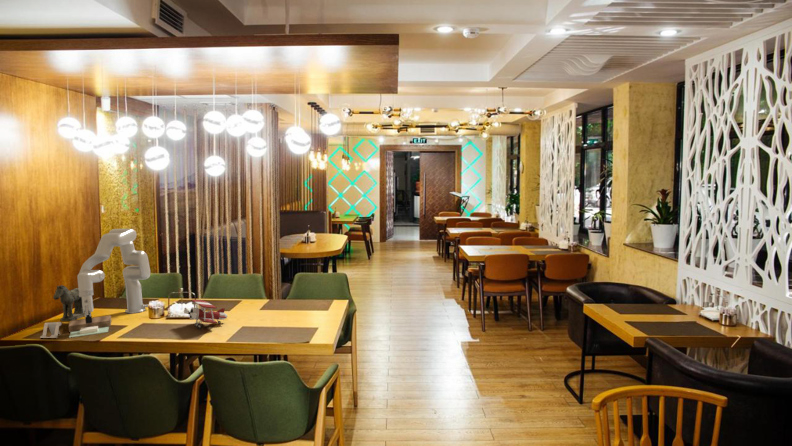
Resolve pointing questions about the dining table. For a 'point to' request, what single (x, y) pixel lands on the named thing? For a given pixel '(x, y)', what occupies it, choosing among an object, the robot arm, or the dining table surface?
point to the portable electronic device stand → (51, 329)
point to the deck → (96, 321)
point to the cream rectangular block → (89, 330)
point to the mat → (100, 330)
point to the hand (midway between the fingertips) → (88, 322)
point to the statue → (69, 303)
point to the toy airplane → (205, 313)
